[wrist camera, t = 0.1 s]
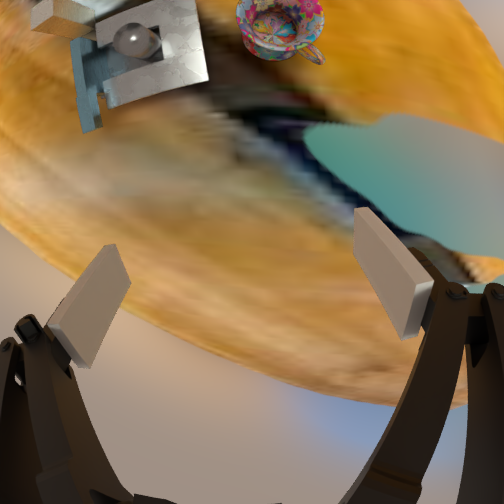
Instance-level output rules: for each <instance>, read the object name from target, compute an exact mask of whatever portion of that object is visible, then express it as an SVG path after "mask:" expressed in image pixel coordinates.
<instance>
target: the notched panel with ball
mask: <svg viewBox="0 0 504 504" xmlns="http://www.w3.org/2000/svg"><path fill="white" fill-rule="evenodd" d="M95 26H96V36H97V42H96V41H93V40H90V39H86V38H82V37H78V38H76V39H74V40H72V41H70V47H71V57H72V65H73V73H74V80H75V86H76V92H77V98H76V101H77V107H78V112H79V117H80V122H81V126H82V131H83V134H84V133H88V132H91V131H94V130H96V129H99V128H101V127H103V125H102V120H101V116H100V111H99V106H98V101H97V96H101V99H104V98H106V102H107V107H108V110H109V109H113V108H116V107H118V106H121V105H124V104H127V103H130V102H133V101H136V100H139V99H142V98H145V97H148V96H151V95H155V94H158V93H162V92H165V91H169V90H173V89H176V88H180V87H184V86H188V85H193V84H197V83H202V82H206V81H210V80H209V75H208V69H207V63H206V58H205V52H204V46H203V40H202V35H201V29H200V23H199V17H198V11H197V5H196V0H154V1H151V2H148V3H145V4H142V5H140V6H137V7H134V8H131V9H129V10H126V11H124V12H121V13H119V14H117V15H114V16H112V17H110V18H107V19H105V20H103V21H101V22H99V23H97V24H95Z"/></svg>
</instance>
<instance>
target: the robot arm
mask: <svg viewBox="0 0 504 504" xmlns="http://www.w3.org/2000/svg"><path fill="white" fill-rule="evenodd" d="M353 254H354V256H355V258H356V259H357V261H358V263H359V264H360V266H361V268H362V269H363V271H364V273H365V275H366V276H367V278H368V280H369V281H370V283H371V285H372V287H373V289H374V290H375V292H376V294H377V296H378V297H379V299H380V301H381V303H382V305H383V307H384V308H385V310H386V312H387V314H388V316H389V318H390V320H391V322H392V323H393V325H394V327H395V329H396V331H397V333H398V335H399V337H400V339H401V341H402V340H405V339H409V338H412V337H416V336H418V333H419V330H420V327H421V326H422V328H423V329H424V331H425V335H424V337H423V340H422V342H421V345H420V348H419V352H418V355H417V358H416V361H415V363H414V366H413V369H412V371H411V374H410V376H409V379H408V381H407V384H406V386H405V389H404V391H403V393H402V396H401V398H400V400H399V402H398V405H397V407H396V409H395V411H394V413H393V415H392V417H391V420H390V421H389V424H388V426H387V427H386V429H385V431H384V433H383V435H382V437H381V439H380V441H379V442H378V444H377V446H376V448H375V449H374V452H373V453H372V455H371V456H370V458H369V460H368V462H367V463H366V465H365V466H364V468H363V469H362V471H361V473H360V474H359V476H358V477H357V479H356V480H355V482H354V483H353V485H352V486H351V488H350V489H349V490H348V491H347V493H346V494H345V495H344V497H343V498H342V499H341V501H340V502H339V503H338V504H416V503H417V501H418V499H419V497H420V495H421V491H422V486H421V482H422V479H423V476H424V474H425V472H426V470H427V468H428V465H429V463H430V461H431V458H432V456H433V454H434V451H435V449H436V446H437V444H438V441H439V438H440V436H441V433H442V430H443V427H444V424H445V421H446V418H447V415H448V412H449V409H450V405H451V402H452V399H453V395H454V391H455V387H456V383H457V379H458V375H459V370H460V366H461V361H462V356H463V350H464V345H465V350H466V362H467V379H468V420H467V437H466V448H465V458H464V465H463V472H462V478H461V484H460V489H459V494H458V498H457V503H456V504H504V286H503V285H501V284H498V283H489V284H487V285H486V287H485V289H484V292H483V294H475V293H474V294H473V293H469V292H468V290H467V289H466V288H465V287H464V286H463V285H461V284H458V283H455V282H448V281H447V280H446V279H445V277H444V276H443V275H442V274H441V273H440V272H439V271H438V269H437V268H436V267H435V266H433V264H432V263H431V261H430V260H428V258H427V257H426V256H425V255H424V254H423V253H422V252H421V251H419V250H417V249H415V248H414V247H412V248H406V247H405V246H404V245H403V244H402V243H401V241H400V240H399V239H398V238H397V237H396V236H395V235H394V234H393V233H392V232H391V231H390V230H389V228H388V227H387V226H386V225H385V224H384V223H383V222H382V221H381V220H380V219H379V218H378V217H377V216H376V215H375V214H374V213H373V212H372V211H371V210H370V209H369V208H368V207H363V208H354V249H353ZM130 285H131V281H130V279H129V276H128V274H127V272H126V269H125V267H124V265H123V262H122V260H121V257H120V255H119V252H118V250H117V247H116V244H111V245H105V246H104V247H103V248H102V249H101V251H100V252H99V253H98V254H97V256H96V257H95V258H94V259H93V261H92V262H91V263H90V264H89V266H88V267H87V268H86V270H85V271H84V272H83V273H82V275H81V276H80V277H79V279H78V280H77V281H76V283H75V284H74V285H73V287H72V288H71V290H70V291H69V292H68V294H67V295H66V297H65V298H64V299H63V300H62V301H61V302H60V304H59V307H57V308H56V310H55V312H54V313H53V314H52V316H51V317H50V319H49V320H48V322H47V323H46V325H45V326H44V328H42V327H41V325H40V324H39V322H38V321H37V319H36V317H35V316H34V315H33V314H28V315H26V316H24V317H23V318H22V319H20V320H19V321H18V323H17V324H16V325H15V328H14V331H15V332H16V334H17V335H18V336H19V338H20V339H21V341H22V342H23V343H21V344H18V343H17V342H16V340H15V339H14V338H13V337H8V338H6V339H4V340H3V341H2V342H1V344H0V504H176V503H174V502H171V501H168V500H166V499H160V498H153V497H148V496H143V495H139V494H134V497H133V496H132V495H131V494H130V493H129V492H128V491H127V490H126V489H125V488H124V487H123V486H122V485H121V483H120V482H119V480H118V478H117V476H116V474H115V473H114V471H113V469H112V467H111V465H110V463H109V461H108V459H107V457H106V455H105V453H104V451H103V448H102V446H101V444H100V442H99V440H98V437H97V435H96V433H95V430H94V428H93V426H92V424H91V421H90V418H89V416H88V413H87V410H86V408H85V405H84V402H83V399H82V397H81V394H80V391H79V388H78V385H77V381H76V378H75V375H74V371H73V369H72V367H71V366H70V365H69V363H70V361H71V359H72V360H73V361H74V363H75V364H76V365H77V366H78V367H79V368H89V369H90V368H91V366H92V363H93V361H94V359H95V357H96V354H97V352H98V350H99V348H100V345H101V343H102V341H103V339H104V337H105V335H106V333H107V330H108V328H109V326H110V324H111V322H112V320H113V318H114V316H115V314H116V312H117V310H118V308H119V306H120V304H121V302H122V300H123V298H124V296H125V294H126V293H127V291H128V289H129V287H130ZM15 375H16V376H17V378H18V379H19V380H20V381H21V385H19V384H18V383H17V382H16V381H15ZM278 504H282V503H278Z"/></svg>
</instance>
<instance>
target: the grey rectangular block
mask: <svg viewBox="0 0 504 504" xmlns="http://www.w3.org/2000/svg"><path fill="white" fill-rule="evenodd" d="M95 24H96V22H95V10H92V9H90V8H88V7H86V6H83V5H81V4H79V3H76V2H74V1H72V0H43V1H42V2H40V3H39V4H37V5H36V6H34V7H33V8H32V9H31V31H37V32H43V33H48V34H54V35H59V36H64V37H68V38H73V39H76V38H78V37H81V36H83V35H85V34H87V33H89V32H91V31H93V30H95V29H96V26H95Z"/></svg>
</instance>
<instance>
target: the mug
mask: <svg viewBox="0 0 504 504" xmlns="http://www.w3.org/2000/svg"><path fill="white" fill-rule="evenodd" d="M236 19H237V23H238V25H239V27H240V29H241V31H242V39H243V42H244V44H245V46H246V48H247V49H248V50H249V51H250V52H251V53H252V54H254V55H255V56H257V57H259V58H262V59H265V60H270V61H280V60H284V59H287V58H290V57H292V56H293V55H295V54H296V53H297V52H298V53H300V54H301V55H302V56H304V57H305V58H307V59H308V60H310V61H312V62H313V63H316V64H318V65H322V64H323V63H325V58H324V56H323V54H322V53H321V52H320V51H319V50H318V49H317V48H316V47H315V46H314V45H312V44H311V43H312V42H313V41H315V40H316V39H317V38H318V36H319V35H320V33H321V31H322V29H323V26H324V13H323V10H322V7H321V5H320V4H319V2H318V1H317V0H239V2H238V5H237V9H236ZM303 47H307V48H308V49H309V50H311V51H312V52H313V53H314V54H315V55H316V56H317V58H318V59H317V58H315V57H313V56H312V55H310V54H308V53H307V52H305V51H304V50H303V49H301V48H303Z"/></svg>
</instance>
